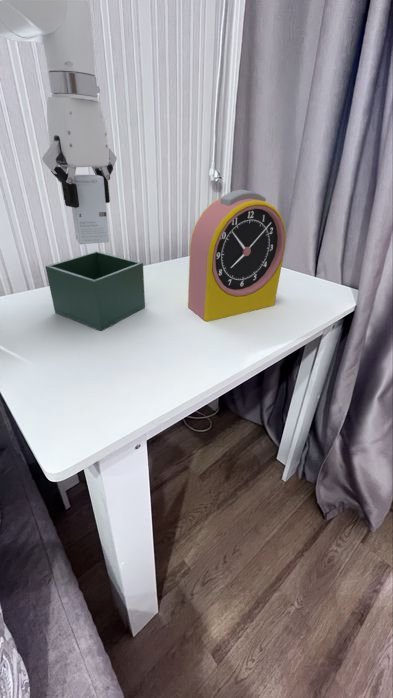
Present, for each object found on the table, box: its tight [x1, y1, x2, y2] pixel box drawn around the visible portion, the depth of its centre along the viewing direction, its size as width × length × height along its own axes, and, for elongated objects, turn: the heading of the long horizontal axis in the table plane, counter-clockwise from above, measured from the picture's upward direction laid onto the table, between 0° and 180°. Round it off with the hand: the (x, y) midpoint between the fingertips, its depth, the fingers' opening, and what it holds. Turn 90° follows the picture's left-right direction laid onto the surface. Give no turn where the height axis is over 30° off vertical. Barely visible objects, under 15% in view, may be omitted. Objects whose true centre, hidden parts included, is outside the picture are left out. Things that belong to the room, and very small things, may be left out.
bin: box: [45, 250, 146, 332], centre depth 75 cm, size 15×15×11 cm
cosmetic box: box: [71, 174, 110, 245], centre depth 65 cm, size 6×4×12 cm
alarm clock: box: [187, 189, 287, 322], centre depth 76 cm, size 21×9×26 cm, turn 120°
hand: (88, 203), depth 65 cm, fingers closed on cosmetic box, 7 cm apart
